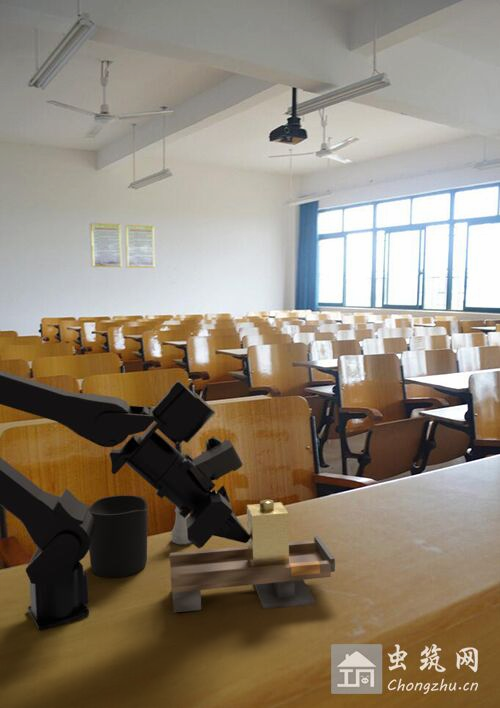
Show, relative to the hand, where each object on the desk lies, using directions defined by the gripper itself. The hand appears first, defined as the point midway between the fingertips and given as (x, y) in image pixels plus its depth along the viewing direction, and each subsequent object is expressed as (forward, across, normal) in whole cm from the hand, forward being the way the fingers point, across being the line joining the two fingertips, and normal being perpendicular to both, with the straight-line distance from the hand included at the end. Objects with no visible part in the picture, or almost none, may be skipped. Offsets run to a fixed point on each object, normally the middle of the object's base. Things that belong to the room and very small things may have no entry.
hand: (248, 539), depth 80 cm
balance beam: (+6, 0, +5) cm, 8 cm away
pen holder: (-8, +13, +19) cm, 24 cm away
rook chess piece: (0, +21, +12) cm, 24 cm away
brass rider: (+5, 0, +1) cm, 5 cm away
